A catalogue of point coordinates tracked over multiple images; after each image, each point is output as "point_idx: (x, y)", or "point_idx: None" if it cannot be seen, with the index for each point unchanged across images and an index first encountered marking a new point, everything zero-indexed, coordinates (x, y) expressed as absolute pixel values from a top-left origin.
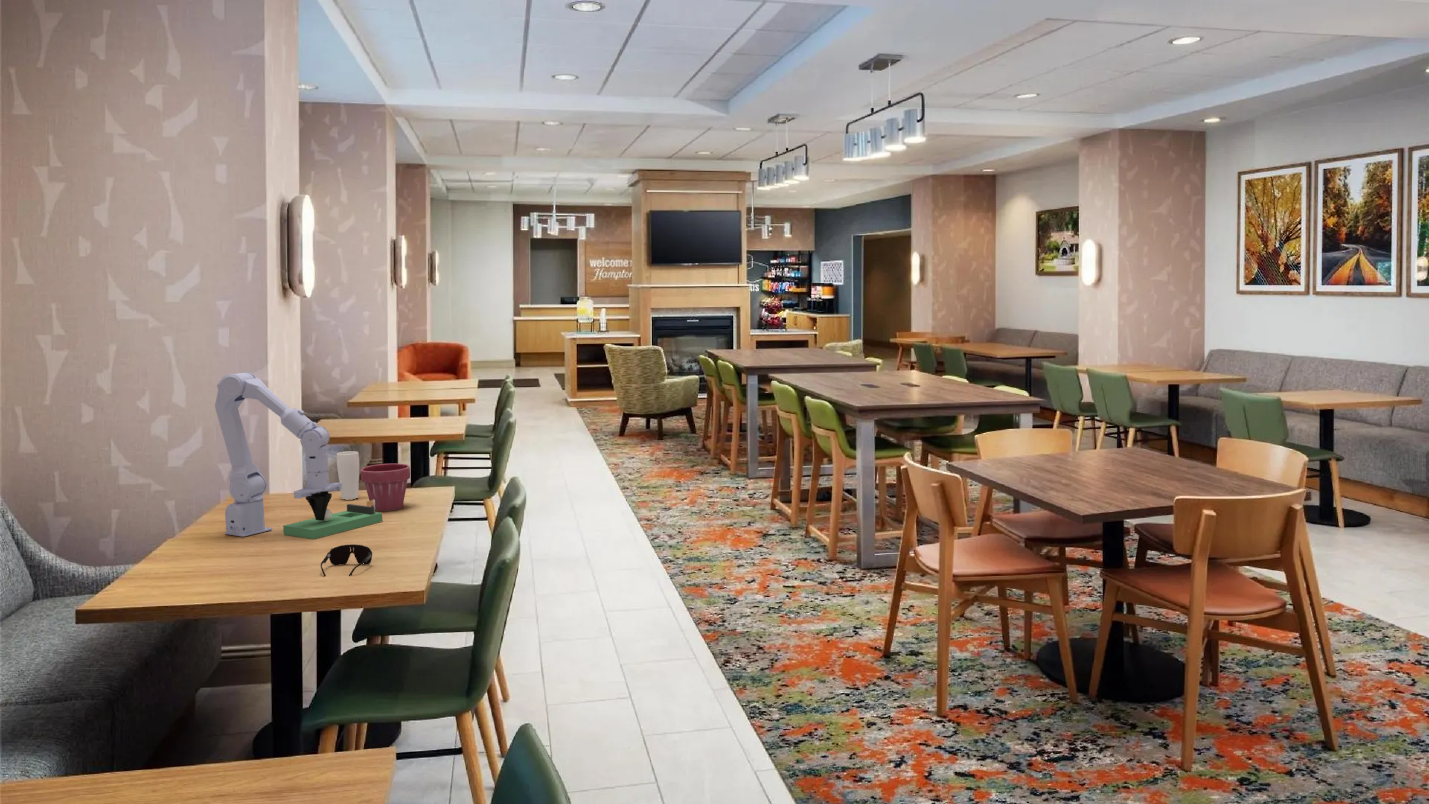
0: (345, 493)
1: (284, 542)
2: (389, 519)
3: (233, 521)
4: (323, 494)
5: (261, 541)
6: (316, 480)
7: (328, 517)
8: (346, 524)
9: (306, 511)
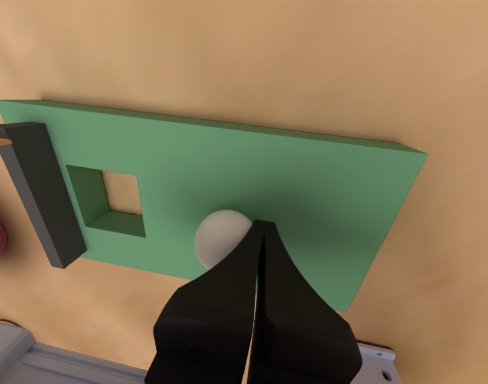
0: None
1: (468, 217)
2: None
3: None
4: (228, 363)
5: (447, 291)
6: None
7: (236, 213)
8: (208, 123)
9: (122, 346)
